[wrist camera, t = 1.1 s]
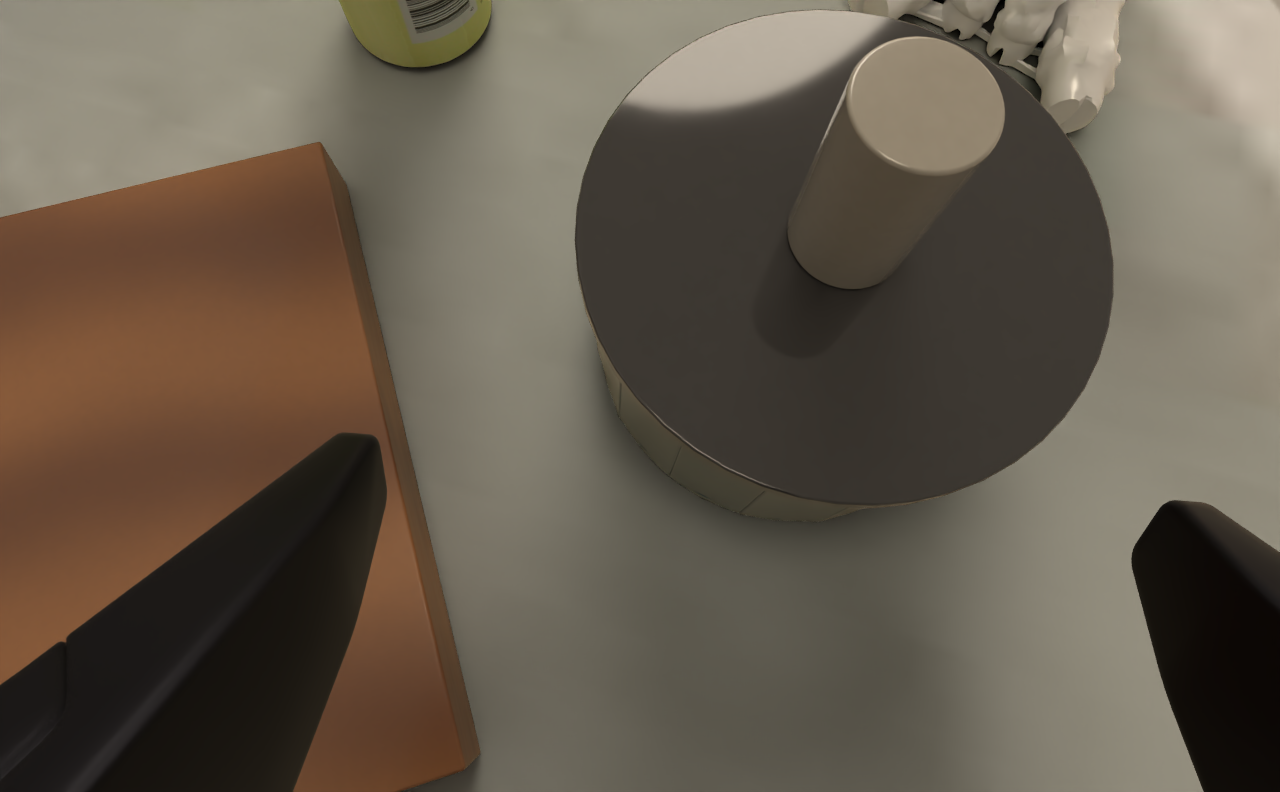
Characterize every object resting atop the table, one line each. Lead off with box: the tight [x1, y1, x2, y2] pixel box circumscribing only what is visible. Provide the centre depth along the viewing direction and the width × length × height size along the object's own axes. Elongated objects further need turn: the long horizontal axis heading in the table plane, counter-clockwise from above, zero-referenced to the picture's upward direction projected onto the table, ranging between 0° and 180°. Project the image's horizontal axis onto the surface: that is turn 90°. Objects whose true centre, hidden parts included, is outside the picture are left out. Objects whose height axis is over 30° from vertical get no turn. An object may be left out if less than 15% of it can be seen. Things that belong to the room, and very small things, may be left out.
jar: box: [597, 343, 863, 522], centre depth 23 cm, size 12×12×6 cm
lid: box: [575, 9, 1113, 508], centre depth 17 cm, size 13×13×6 cm
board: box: [0, 142, 480, 792], centre depth 22 cm, size 18×20×2 cm
